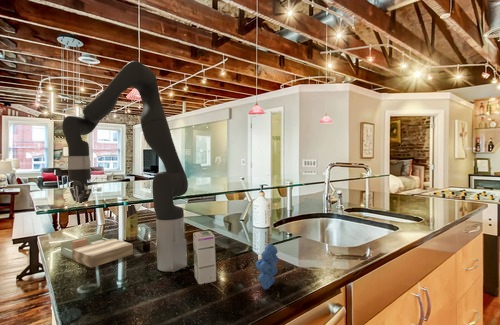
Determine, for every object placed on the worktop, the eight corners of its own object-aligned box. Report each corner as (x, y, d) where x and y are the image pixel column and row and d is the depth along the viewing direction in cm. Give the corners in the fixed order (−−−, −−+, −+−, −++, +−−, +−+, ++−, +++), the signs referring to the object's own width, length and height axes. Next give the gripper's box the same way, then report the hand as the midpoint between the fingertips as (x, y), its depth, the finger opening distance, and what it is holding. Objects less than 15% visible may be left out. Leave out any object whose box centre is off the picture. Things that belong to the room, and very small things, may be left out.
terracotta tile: (87, 239, 114) (85, 238, 115) (73, 242, 110) (71, 241, 111) (87, 251, 114) (85, 250, 115) (74, 254, 110) (72, 253, 111)
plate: (133, 254, 112) (132, 244, 112) (91, 267, 99) (90, 256, 99) (113, 247, 120) (113, 238, 120) (72, 259, 107) (72, 249, 107)
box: (113, 247, 120) (113, 236, 120) (72, 259, 107) (71, 246, 107) (101, 243, 125) (101, 232, 125) (61, 254, 112) (60, 242, 112)
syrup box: (216, 281, 87) (215, 234, 86) (197, 285, 84) (196, 236, 84) (211, 274, 92) (210, 229, 91) (193, 277, 89) (192, 232, 89)
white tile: (100, 239, 123) (100, 244, 123) (88, 242, 119) (88, 247, 119) (106, 241, 120) (106, 246, 120) (94, 244, 116) (94, 249, 116)
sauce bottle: (132, 241, 128) (131, 198, 127) (120, 241, 129) (118, 197, 128) (140, 237, 134) (139, 195, 134) (129, 237, 135) (127, 195, 135)
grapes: (262, 275, 90) (261, 238, 90) (282, 278, 87) (282, 240, 87) (247, 292, 79) (247, 249, 79) (270, 296, 77) (270, 252, 76)
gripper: (98, 167, 109) (99, 212, 110) (81, 167, 117) (83, 209, 117) (77, 168, 103) (79, 215, 104) (61, 168, 111) (63, 212, 111)
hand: (81, 212), depth 111 cm, fingers closed
